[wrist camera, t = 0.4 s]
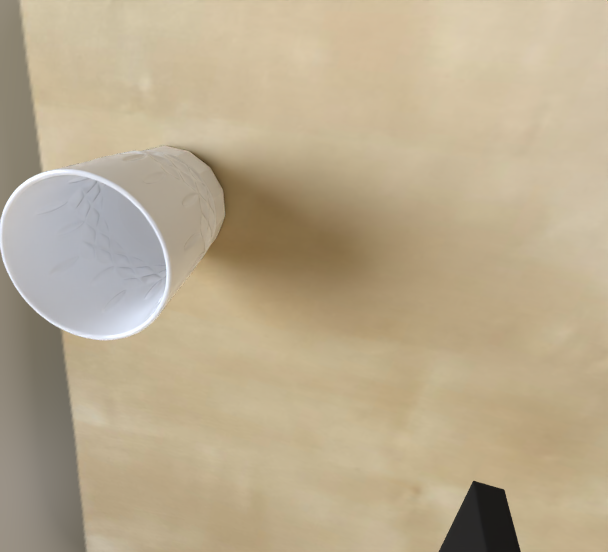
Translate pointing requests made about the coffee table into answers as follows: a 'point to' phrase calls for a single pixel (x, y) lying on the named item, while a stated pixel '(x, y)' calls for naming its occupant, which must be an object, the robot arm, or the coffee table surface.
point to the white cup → (110, 238)
